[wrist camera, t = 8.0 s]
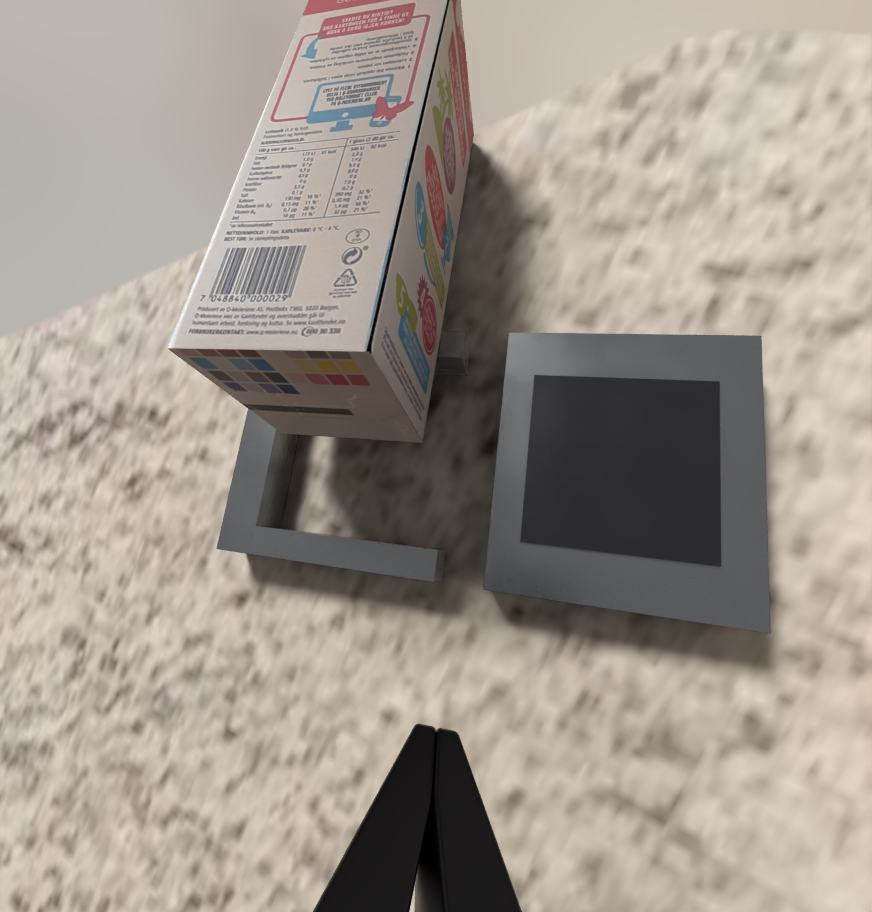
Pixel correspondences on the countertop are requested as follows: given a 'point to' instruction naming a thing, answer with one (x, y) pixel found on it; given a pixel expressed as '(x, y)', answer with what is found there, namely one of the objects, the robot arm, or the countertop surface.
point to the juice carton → (342, 227)
